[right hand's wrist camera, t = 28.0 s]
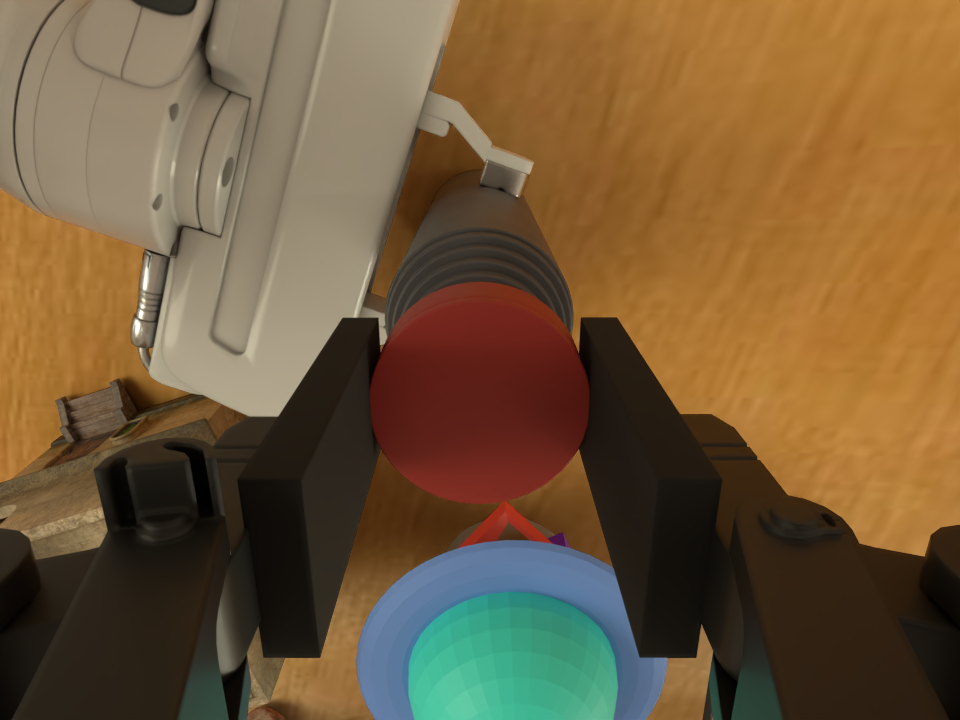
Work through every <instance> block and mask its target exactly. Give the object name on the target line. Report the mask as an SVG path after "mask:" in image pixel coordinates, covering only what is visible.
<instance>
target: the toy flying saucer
mask: <svg viewBox="0 0 960 720" xmlns="http://www.w3.org/2000/svg"><path fill="white" fill-rule="evenodd" d="M356 662H357V677H358V681H359V685H360V690H361V693H362V695H363V698H364V700H365V702H366V705H367V707H368V709H369V710H370V712H371V713H372V715H373V717H374V718H375V720H646V719H647V717H648V716H649V714H650V713H651V712H652V710H653V708H654V706H655V704H656V702H657V700H658V698H659V696H660V694H661V691H662V688H663V685H664V682H665V677H666V670H667V658H639V654H638V651H637V648H636V644H635V641H634V637H633V634H632V630H631V627H630V623H629V620H628V616H627V613H626V610H625V606H624V603H623V599H622V596H621V592H620V589H619V585H618V582H617V578H616V575H615V572H614V568H613V567H611V566H610V565H608V564H606V563H604V562H602V561H600V560H598V559H596V558H595V557H593V556H591V555H588V554H585V553H583V552H580V551H577V550H574V549H572V548H571V547H570V545H569V543H568V541H567V539H566V537H565V535H564V533H563V532H562V533H560V534H557V535H555V534H554V533H553V532H551V531H550V530H548V529H547V528H545V527H544V526H542V525H540V524H538V523H535V522H533V521H530V520H526V519H525V518H524V517H523V516H522V515H521V514H520V513H518V512H517V511H516V510H515V509H514V508H513V507H512V506H511V505H510V504H509V503H507V502H506V501H503V502H502V503H501V504H500V505H499V506H498V507H497V508H496V509H495V510H494V511H493V513H492V514H491V515H490V516H489V517H488V518H487V519H486V520H485V521H481V522H478V523H476V524H474V525H472V526H470V527H468V528H467V529H465V530H464V531H463V532H461V533H460V534H459V535H458V536H457V537H456V538H455V539H454V540H453V541H452V542H451V544H450V545H449V547H448V549H447V551H446V552H445V553H443V554H441V555H439V556H436V557H434V558H432V559H430V560H428V561H426V562H424V563H422V564H421V565H419V566H417V567H416V568H414V569H413V570H411V571H409V572H408V573H406V574H405V575H404V576H403V577H402V578H400V579H399V580H398V581H397V582H395V583H394V584H393V585H392V586H391V587H390V588H389V589H388V590H387V591H386V592H385V594H384V595H383V596H382V597H381V598H380V599H379V601H378V602H377V603H376V605H375V606H374V608H373V609H372V611H371V612H370V614H369V616H368V618H367V620H366V622H365V625H364V627H363V629H362V632H361V636H360V640H359V643H358V650H357V659H356Z"/></svg>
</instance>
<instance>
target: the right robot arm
mask: <svg viewBox="0 0 960 720" xmlns="http://www.w3.org/2000/svg"><path fill="white" fill-rule="evenodd" d="M380 354H381V352H380V335H379V318H342V319H341V321H340V322H339V324H338V325H337V327H336V328H335V330H334V332H333V333H332V335H331V336H330V338H329V339H328V341H327V342H326V344H325V345H324V347H323V348H322V350H321V351H320V353H319V355H318V356H317V358H316V359H315V361H314V362H313V364H312V365H311V367H310V368H309V370H308V371H307V373H306V374H305V376H304V378H303V379H302V381H301V382H300V384H299V385H298V387H297V388H296V390H295V391H294V393H293V394H292V396H291V398H290V399H289V401H288V402H287V404H286V405H285V407H284V408H283V410H282V411H281V413H280V414H279V416H248V417H247V418H245V419H243V420H242V421H240V422H238V423H237V424H235V425H233V426H232V427H230V428H228V429H227V430H225V432H224V433H223V434H222V435H221V437H220V438H219V439H218V440H217V442H216V443H215V444H214V446H213V447H212V446H211V445H210V444H208V443H207V442H205V441H202V440H197V439H193V438H164V439H158V440H152V441H146V442H143V443H140V444H136V445H133V446H130V447H127V448H124V449H122V450H120V451H118V452H116V453H114V454H113V455H111V456H109V457H107V458H105V459H104V460H103V461H102V462H101V463H100V464H99V465H98V466H97V467H96V468H95V469H94V474H95V479H96V483H97V487H98V491H99V496H100V500H101V504H102V509H103V513H104V517H105V522H106V526H107V530H108V531H107V533H106V535H105V537H104V539H103V541H102V543H101V545H100V547H97V548H93V549H89V550H85V551H80V552H74V553H69V554H64V555H59V556H53V557H48V558H43V559H37V560H35V556H34V553H33V549H32V546H31V542H30V539H29V538H28V537H27V536H26V535H24V534H23V533H22V532H20V531H17V530H11V529H4V528H0V720H247V714H248V706H249V698H250V690H251V676H250V669H249V663H248V657H247V651H248V649H249V647H250V644H251V642H252V640H253V637H254V635H255V633H256V630H257V628H258V626H259V632H260V639H261V646H262V652H263V658H320V656H321V653H322V649H323V646H324V642H325V639H326V636H327V632H328V629H329V625H330V622H331V618H332V615H333V611H334V608H335V605H336V601H337V598H338V594H339V591H340V587H341V584H342V580H343V577H344V573H345V570H346V567H347V563H348V560H349V556H350V553H351V549H352V546H353V542H354V539H355V535H356V532H357V529H358V525H359V522H360V518H361V515H362V511H363V508H364V504H365V501H366V497H367V494H368V491H369V487H370V484H371V480H372V477H373V473H374V470H375V466H376V463H377V459H378V456H379V453H380V449H381V448H380V446H379V444H378V442H377V440H376V437H375V435H374V432H373V429H372V421H371V405H370V383H371V378H372V375H373V372H374V369H375V366H376V364H377V361H378V359H379V356H380ZM579 355H580V358H581V360H582V363H583V365H584V368H585V370H586V373H587V377H588V381H589V384H590V398H589V414H588V427H587V430H586V433H585V437H584V439H583V441H582V443H581V445H580V447H579V451H580V454H581V458H582V461H583V464H584V468H585V471H586V475H587V478H588V482H589V485H590V489H591V492H592V496H593V499H594V502H595V506H596V509H597V513H598V516H599V520H600V523H601V527H602V530H603V534H604V537H605V540H606V544H607V547H608V551H609V554H610V558H611V561H612V565H613V568H614V572H615V575H616V578H617V582H618V585H619V589H620V592H621V596H622V599H623V603H624V606H625V610H626V613H627V616H628V620H629V623H630V627H631V630H632V634H633V637H634V641H635V644H636V648H637V651H638V654H639V658H696V656H697V649H698V643H699V636H700V629H701V623H702V626H703V628H704V630H705V633H706V635H707V637H708V640H709V642H710V644H711V647H712V649H713V657H712V663H711V669H710V676H709V682H708V688H707V695H706V701H705V707H704V714H703V720H712V718H713V720H960V525H955V526H948V527H942V528H940V529H938V530H937V531H936V532H934V533H933V534H932V535H931V537H930V540H929V544H928V547H927V551H926V554H925V557H923V556H918V555H912V554H907V553H902V552H896V551H891V550H886V549H880V548H875V547H871V546H867V545H863V544H859V542H858V540H857V538H856V536H855V534H854V532H853V530H852V529H851V528H850V527H849V526H848V524H847V523H846V522H845V521H844V520H843V518H842V517H840V516H838V515H837V514H835V513H834V512H832V511H831V510H829V509H827V508H826V507H824V506H822V505H819V504H816V503H814V502H811V501H809V500H806V499H803V498H798V497H793V496H788V495H787V494H786V492H785V491H784V490H783V489H782V487H781V486H780V485H779V484H778V482H777V481H776V480H775V479H774V477H773V476H772V475H771V474H770V472H769V471H768V470H767V468H766V467H765V466H764V465H763V463H762V462H761V461H760V460H757V456H756V455H755V453H754V452H753V451H752V450H751V448H750V447H747V443H746V442H745V441H744V439H743V438H742V437H741V436H740V434H739V433H738V432H737V431H736V429H735V428H734V427H732V426H730V425H729V424H727V423H725V422H724V421H722V420H720V419H719V418H717V417H715V416H713V415H712V414H679V412H678V411H677V409H676V407H675V406H674V404H673V403H672V401H671V400H670V398H669V397H668V395H667V394H666V392H665V391H664V389H663V388H662V386H661V384H660V383H659V381H658V380H657V378H656V377H655V375H654V374H653V372H652V371H651V369H650V368H649V366H648V364H647V363H646V361H645V360H644V358H643V357H642V355H641V354H640V352H639V351H638V349H637V348H636V346H635V345H634V343H633V341H632V340H631V338H630V337H629V335H628V334H627V332H626V331H625V329H624V328H623V326H622V325H621V323H620V322H619V320H618V318H581V326H580V344H579Z"/></svg>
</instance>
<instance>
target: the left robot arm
mask: <svg viewBox="0 0 960 720" xmlns="http://www.w3.org/2000/svg"><path fill="white" fill-rule="evenodd" d="M459 1H460V0H0V190H1V191H3V192H5V193H7V194H9V195H11V196H12V197H14V198H15V199H17V200H18V201H20V202H21V203H23V204H24V205H26V206H28V207H29V208H31V209H33V210H34V211H36V212H38V213H41V214H43V215H46V216H48V217H51V218H54V219H57V220H60V221H63V222H66V223H69V224H72V225H75V226H78V227H81V228H84V229H87V230H90V231H93V232H96V233H99V234H103V235H106V236H109V237H112V238H114V239H117V240H120V241H123V242H126V243H129V244H132V245H135V246H138V247H141V248H144V253H143V259H142V260H143V261H142V266H141V272H140V278H139V295H138V305H137V310H136V313H135V314H134V316H133V319H132V323H131V331H130V337H131V343H132V344H133V345H135V346H136V347H138V351H139V356H140V359H141V361H142V363H143V365H144V367H145V368H146V369H147V371H148V372H149V374H150V376H151V377H152V378H153V379H154V380H156V381H157V382H159V383H161V384H163V385H166V386H169V387H173V388H176V389H179V390H182V391H186V392H189V393H192V394H198V395H204V396H206V397H208V398H210V399H212V400H214V401H216V402H218V403H220V404H222V405H225V406H227V407H229V408H231V409H233V410H235V411H238V412H240V413H242V414H245V415H247V416H279V414H280V413H281V411H282V410H283V408H284V407H285V405H286V404H287V402H288V401H289V399H290V398H291V396H292V394H293V393H294V391H295V390H296V388H297V387H298V385H299V384H300V382H301V381H302V379H303V378H304V376H305V374H306V373H307V371H308V370H309V368H310V367H311V365H312V364H313V362H314V361H315V359H316V358H317V356H318V355H319V353H320V351H321V350H322V348H323V347H324V345H325V344H326V342H327V341H328V339H329V338H330V336H331V335H332V333H333V332H334V330H335V328H336V327H337V325H338V324H339V322H340V321H341V319H342V318H379V335H380V345H383V344H385V341H386V339H387V334H386V329H385V305H386V300H387V299H386V298H383V297H380V296H377V295H375V294H372V293H371V290H372V287H373V284H374V280H375V277H376V274H377V271H378V267H379V264H380V261H381V257H382V254H383V251H384V248H385V244H386V241H387V238H388V234H389V231H390V228H391V225H392V221H393V218H394V215H395V211H396V208H397V205H398V202H399V198H400V195H401V192H402V188H403V185H404V182H405V179H406V175H407V172H408V169H409V165H410V162H411V159H412V156H413V152H414V149H415V146H416V142H417V139H418V136H419V133H420V129H421V130H424V131H427V132H430V133H433V134H435V135H438V136H441V137H444V136H446V135H447V134H449V131H450V128H451V125H452V124H453V125H454V126H455V128H456V129H457V130H458V131H459V132H460V134H461V135H462V136H463V137H464V138H465V140H466V141H467V142H468V143H469V144H470V146H471V147H472V148H473V149H474V150H475V152H476V153H477V154H478V155H479V156H480V158H481V159H482V160H483V161H484V162H485V163H484V166H483V169H482V172H481V175H480V178H479V184H482V185H484V186H487V187H490V188H494V189H498V188H503V190H504V191H505V192H506V193H508V194H510V195H512V196H515V197H519V198H521V196H522V193H523V191H524V188H525V186H526V183H527V181H528V178H529V175H530V172H531V170H532V167H533V164H534V161H533V160H531V159H528V158H526V157H524V156H521V155H518V154H516V153H513V152H510V151H508V150H505V149H502V148H500V147H497V146H494V145H492V141H491V140H490V139H489V137H488V136H487V135H486V134H485V133H484V131H483V130H482V129H481V128H480V126H479V125H478V124H477V123H476V122H475V120H474V119H473V118H472V117H471V115H470V114H469V113H468V112H467V110H466V109H465V108H464V107H463V106H462V104H461V103H460V102H458V101H456V100H453V99H451V98H448V97H445V96H443V95H440V94H437V93H435V92H432V90H433V87H434V83H435V80H436V77H437V74H438V70H439V67H440V64H441V60H442V57H443V54H444V51H445V47H446V44H447V41H448V37H449V34H450V31H451V28H452V24H453V21H454V18H455V14H456V11H457V8H458V5H459ZM451 123H452V124H451ZM152 347H153V351H152V356H151V357H150V354H149V349H148V348H152Z"/></svg>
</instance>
